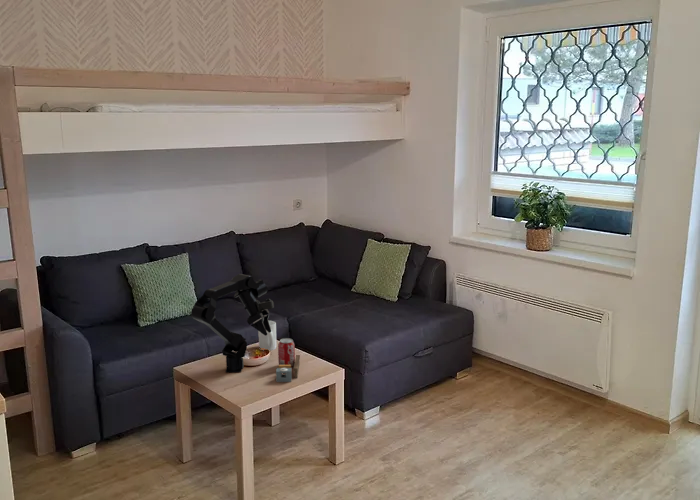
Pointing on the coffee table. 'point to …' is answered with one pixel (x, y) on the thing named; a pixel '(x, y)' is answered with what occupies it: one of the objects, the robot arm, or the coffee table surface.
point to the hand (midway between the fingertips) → (268, 333)
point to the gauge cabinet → (283, 375)
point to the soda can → (286, 352)
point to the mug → (268, 337)
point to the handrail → (296, 366)
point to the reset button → (284, 367)
